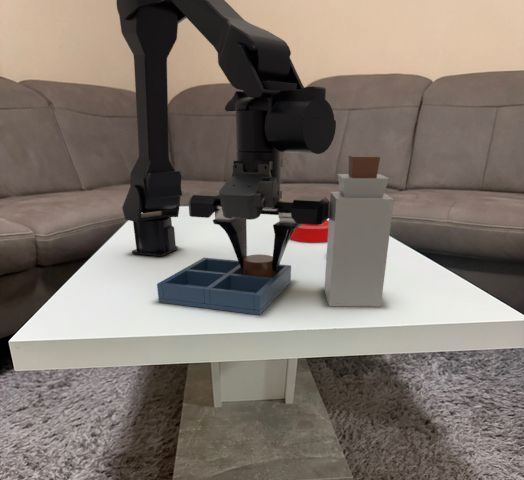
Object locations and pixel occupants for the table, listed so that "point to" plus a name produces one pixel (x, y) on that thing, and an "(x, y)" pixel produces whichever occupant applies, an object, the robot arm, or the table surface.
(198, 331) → the table surface
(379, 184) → the perfume bottle
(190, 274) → the holder
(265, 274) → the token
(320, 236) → the red ring
